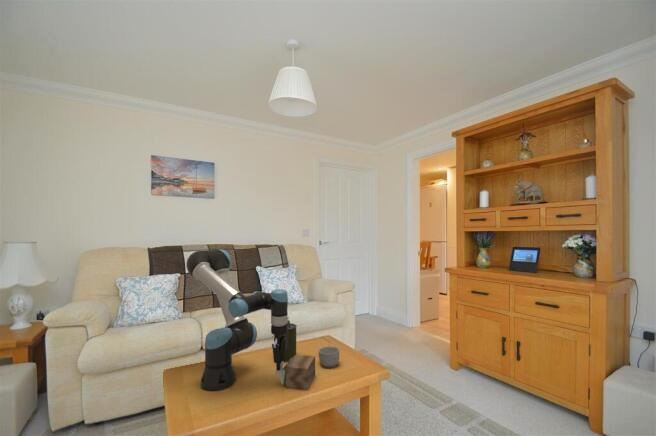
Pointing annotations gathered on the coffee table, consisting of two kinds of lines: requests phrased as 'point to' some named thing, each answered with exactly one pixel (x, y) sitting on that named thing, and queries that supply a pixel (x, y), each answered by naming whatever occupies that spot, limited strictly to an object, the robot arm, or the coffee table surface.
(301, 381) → the block
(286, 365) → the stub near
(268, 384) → the coffee table surface
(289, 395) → the coffee table surface
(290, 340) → the canister
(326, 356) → the teacup
